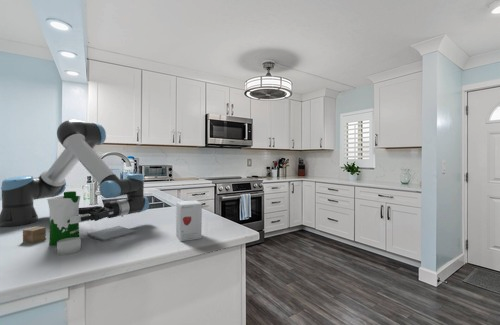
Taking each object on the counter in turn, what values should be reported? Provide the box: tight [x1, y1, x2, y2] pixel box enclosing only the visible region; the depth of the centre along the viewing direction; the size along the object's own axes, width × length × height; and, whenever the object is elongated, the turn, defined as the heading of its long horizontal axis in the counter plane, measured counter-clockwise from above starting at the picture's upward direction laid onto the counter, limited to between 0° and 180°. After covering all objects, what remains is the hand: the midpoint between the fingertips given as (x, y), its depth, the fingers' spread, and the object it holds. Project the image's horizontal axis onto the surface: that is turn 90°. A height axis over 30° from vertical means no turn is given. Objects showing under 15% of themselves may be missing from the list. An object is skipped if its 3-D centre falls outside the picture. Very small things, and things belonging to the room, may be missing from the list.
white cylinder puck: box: [56, 236, 82, 256], centre depth 89 cm, size 7×7×4 cm
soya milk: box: [46, 190, 81, 246], centre depth 98 cm, size 9×9×20 cm
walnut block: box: [22, 226, 47, 244], centre depth 100 cm, size 5×5×5 cm
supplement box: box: [175, 199, 203, 242], centre depth 105 cm, size 9×9×15 cm
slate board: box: [86, 225, 137, 242], centre depth 109 cm, size 14×14×1 cm
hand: (62, 218), depth 97 cm, fingers open, 13 cm apart
